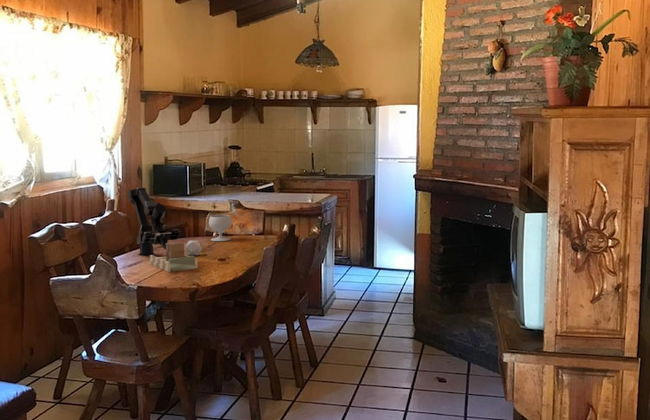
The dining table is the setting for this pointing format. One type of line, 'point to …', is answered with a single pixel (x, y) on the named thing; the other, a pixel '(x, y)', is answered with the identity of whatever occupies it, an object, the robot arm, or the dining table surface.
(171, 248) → the walnut block
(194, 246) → the die
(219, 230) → the chalice
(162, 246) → the robot arm
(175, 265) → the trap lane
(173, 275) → the dining table surface
